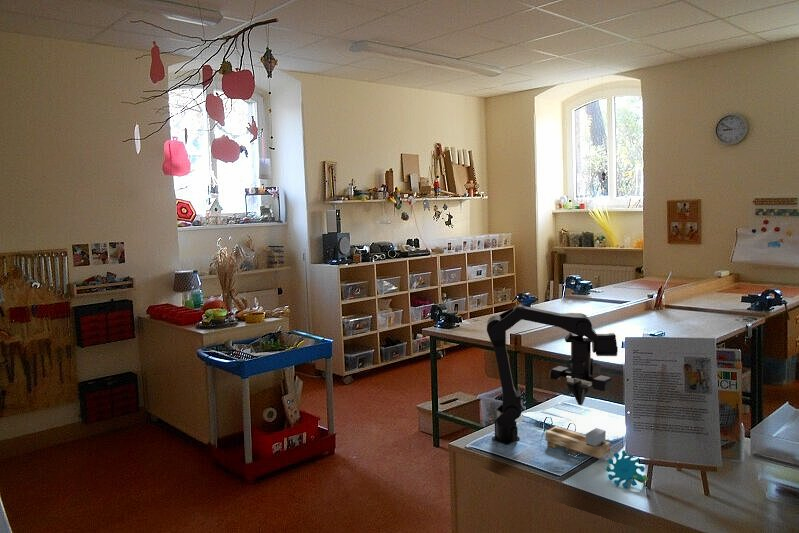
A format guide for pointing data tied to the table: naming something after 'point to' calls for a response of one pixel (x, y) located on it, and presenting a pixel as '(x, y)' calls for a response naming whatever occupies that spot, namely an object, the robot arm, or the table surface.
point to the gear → (626, 470)
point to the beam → (574, 442)
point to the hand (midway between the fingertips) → (580, 404)
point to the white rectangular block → (595, 437)
